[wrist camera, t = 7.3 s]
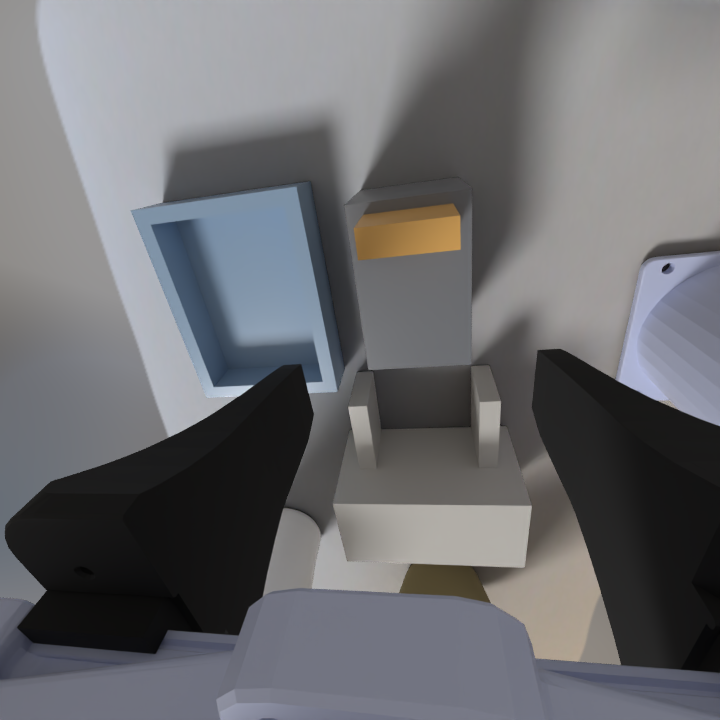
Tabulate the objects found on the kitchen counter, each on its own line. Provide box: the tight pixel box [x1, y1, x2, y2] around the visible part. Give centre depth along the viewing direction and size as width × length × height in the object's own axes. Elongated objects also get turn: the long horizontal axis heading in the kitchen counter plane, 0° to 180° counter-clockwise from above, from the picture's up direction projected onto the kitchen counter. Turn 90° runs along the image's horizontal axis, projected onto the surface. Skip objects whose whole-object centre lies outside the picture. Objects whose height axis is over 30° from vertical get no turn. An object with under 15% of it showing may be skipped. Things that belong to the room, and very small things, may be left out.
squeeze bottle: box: [399, 564, 490, 603], centre depth 24 cm, size 8×8×18 cm
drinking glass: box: [263, 508, 321, 596], centre depth 25 cm, size 7×7×15 cm
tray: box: [131, 181, 345, 398], centre depth 20 cm, size 8×10×2 cm
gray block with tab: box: [344, 177, 472, 370], centre depth 16 cm, size 7×4×8 cm, turn 8°
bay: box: [333, 365, 532, 568], centre depth 22 cm, size 10×10×6 cm
